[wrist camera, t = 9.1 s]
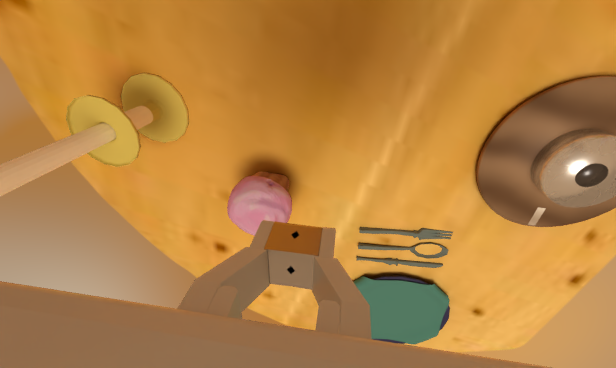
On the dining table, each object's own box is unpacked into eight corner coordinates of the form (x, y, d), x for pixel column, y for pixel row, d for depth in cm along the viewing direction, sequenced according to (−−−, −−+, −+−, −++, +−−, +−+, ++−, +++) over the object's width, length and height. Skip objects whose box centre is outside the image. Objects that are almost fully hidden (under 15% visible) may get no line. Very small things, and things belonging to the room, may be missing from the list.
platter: (515, 68, 30) (520, 69, 30) (720, 83, 28) (730, 85, 28) (455, 213, 41) (457, 216, 40) (602, 231, 39) (607, 235, 38)
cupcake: (289, 212, 46) (275, 256, 37) (240, 195, 45) (214, 235, 37) (306, 169, 41) (294, 208, 33) (251, 149, 41) (224, 183, 32)
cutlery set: (340, 329, 61) (340, 339, 59) (347, 219, 46) (347, 228, 44) (434, 340, 58) (437, 351, 56) (475, 228, 43) (481, 238, 41)
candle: (136, 141, 43) (-113, 281, 20) (111, 73, 38) (-263, 155, 15) (196, 142, 41) (2, 294, 19) (178, 72, 36) (-120, 160, 13)
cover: (554, 123, 32) (572, 133, 29) (638, 133, 31) (665, 144, 28) (517, 188, 36) (530, 202, 34) (589, 198, 36) (608, 213, 33)
